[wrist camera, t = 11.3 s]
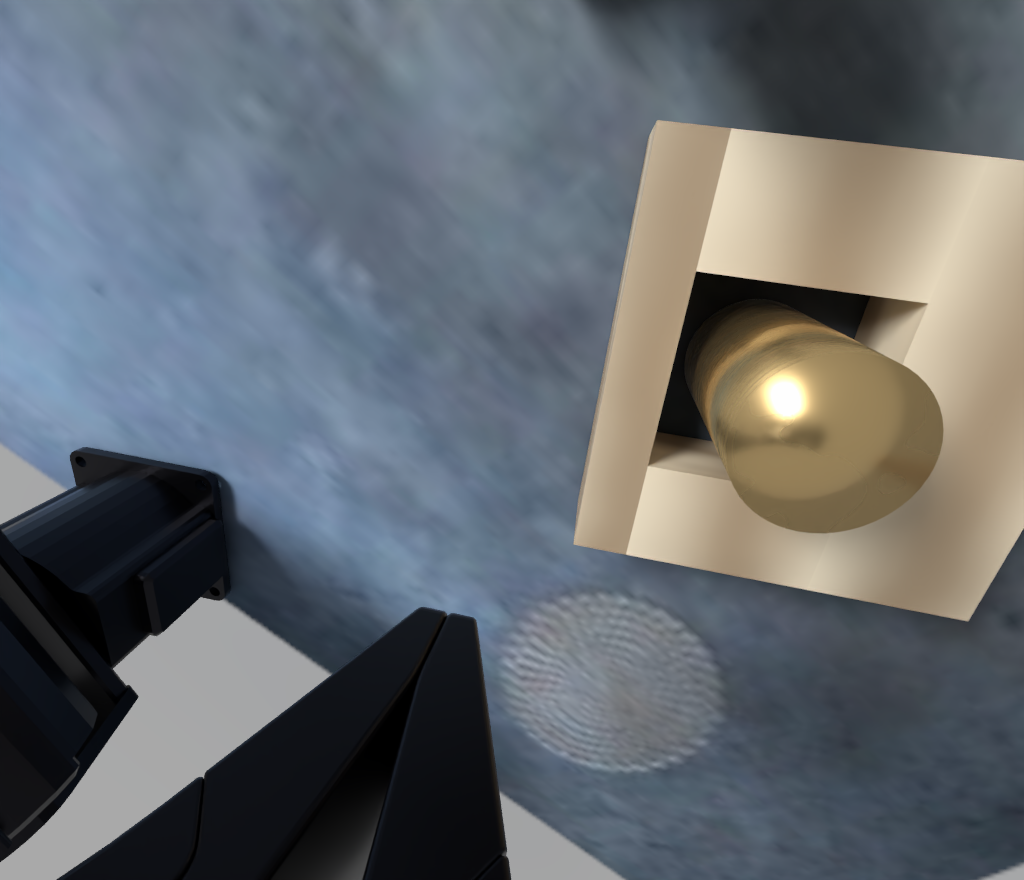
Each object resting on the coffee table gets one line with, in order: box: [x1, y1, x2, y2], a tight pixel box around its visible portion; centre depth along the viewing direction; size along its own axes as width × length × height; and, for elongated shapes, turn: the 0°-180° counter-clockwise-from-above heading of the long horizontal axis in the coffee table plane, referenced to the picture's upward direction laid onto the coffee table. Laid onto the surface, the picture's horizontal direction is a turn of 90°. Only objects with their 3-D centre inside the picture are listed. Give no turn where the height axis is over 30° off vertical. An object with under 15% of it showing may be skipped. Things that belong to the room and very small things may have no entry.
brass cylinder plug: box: [684, 299, 944, 533], centre depth 14 cm, size 4×4×7 cm
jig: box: [574, 120, 1024, 621], centre depth 16 cm, size 12×12×3 cm
